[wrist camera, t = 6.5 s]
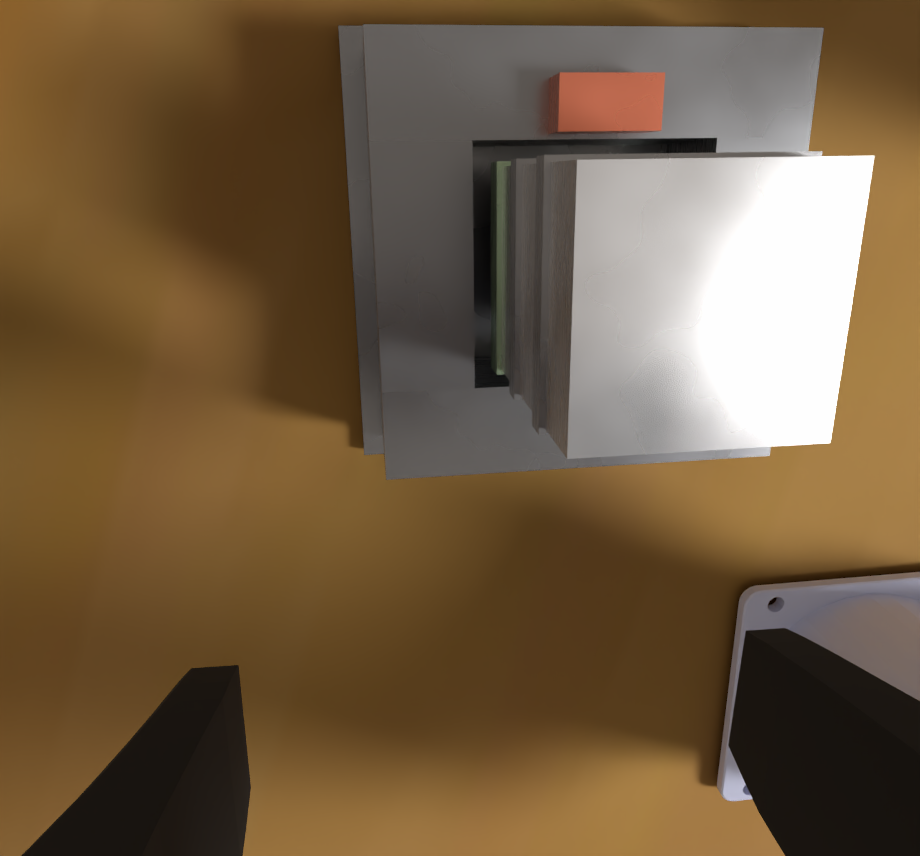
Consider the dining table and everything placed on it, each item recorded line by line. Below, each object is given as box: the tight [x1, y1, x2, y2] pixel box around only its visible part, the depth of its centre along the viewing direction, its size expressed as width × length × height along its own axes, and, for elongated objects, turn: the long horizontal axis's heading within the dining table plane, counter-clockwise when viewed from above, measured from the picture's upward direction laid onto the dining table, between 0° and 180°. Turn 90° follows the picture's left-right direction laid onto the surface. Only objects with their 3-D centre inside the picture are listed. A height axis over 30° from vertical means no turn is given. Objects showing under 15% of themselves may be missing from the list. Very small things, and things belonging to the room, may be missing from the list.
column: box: [490, 151, 874, 459], centre depth 13 cm, size 4×4×7 cm
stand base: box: [338, 24, 824, 480], centre depth 17 cm, size 10×10×4 cm
